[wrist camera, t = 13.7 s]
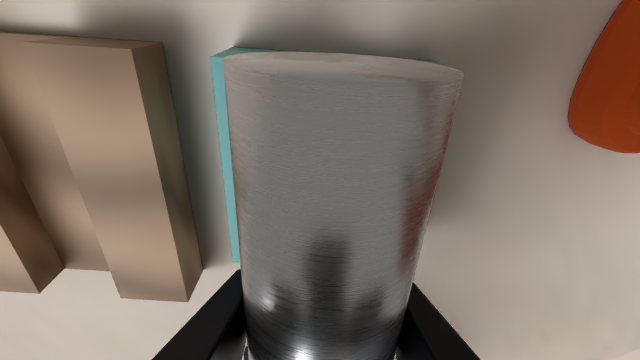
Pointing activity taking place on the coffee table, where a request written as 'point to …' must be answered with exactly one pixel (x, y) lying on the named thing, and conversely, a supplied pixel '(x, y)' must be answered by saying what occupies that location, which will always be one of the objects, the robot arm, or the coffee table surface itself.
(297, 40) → the coffee table surface
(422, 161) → the axle
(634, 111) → the toy drill
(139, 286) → the wooden channel block
